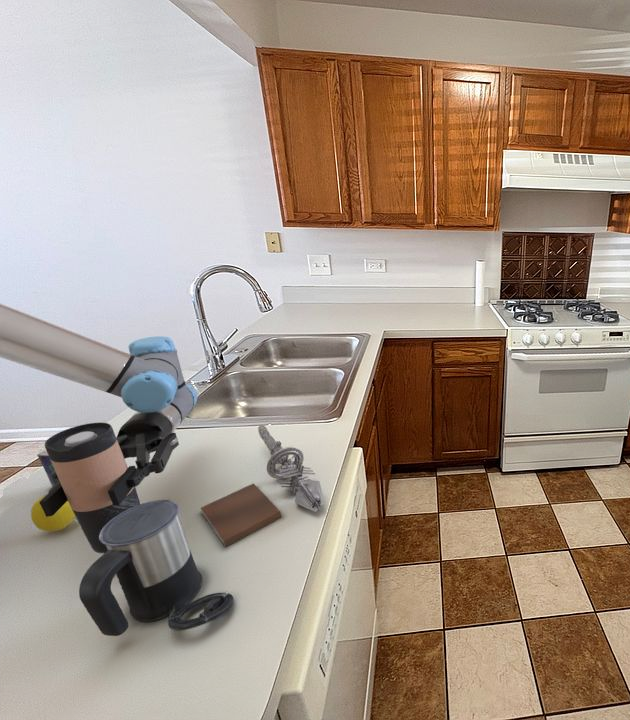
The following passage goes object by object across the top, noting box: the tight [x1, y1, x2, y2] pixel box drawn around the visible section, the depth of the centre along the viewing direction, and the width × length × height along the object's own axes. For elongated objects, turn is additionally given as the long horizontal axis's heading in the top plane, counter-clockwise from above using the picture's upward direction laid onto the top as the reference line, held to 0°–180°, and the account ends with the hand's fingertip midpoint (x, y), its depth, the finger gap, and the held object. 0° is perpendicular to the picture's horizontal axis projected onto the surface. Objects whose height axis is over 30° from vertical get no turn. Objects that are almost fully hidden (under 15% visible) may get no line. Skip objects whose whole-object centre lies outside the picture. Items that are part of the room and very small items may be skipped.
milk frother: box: [78, 499, 235, 637], centre depth 59 cm, size 14×16×15 cm
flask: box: [36, 449, 55, 488], centre depth 85 cm, size 9×3×11 cm, turn 79°
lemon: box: [30, 494, 76, 532], centre depth 74 cm, size 6×6×8 cm
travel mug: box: [44, 422, 141, 554], centre depth 63 cm, size 8×8×20 cm
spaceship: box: [257, 424, 324, 512], centre depth 89 cm, size 8×35×8 cm
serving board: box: [200, 482, 282, 548], centre depth 79 cm, size 13×10×2 cm
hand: (80, 503), depth 59 cm, fingers closed on travel mug, 7 cm apart
